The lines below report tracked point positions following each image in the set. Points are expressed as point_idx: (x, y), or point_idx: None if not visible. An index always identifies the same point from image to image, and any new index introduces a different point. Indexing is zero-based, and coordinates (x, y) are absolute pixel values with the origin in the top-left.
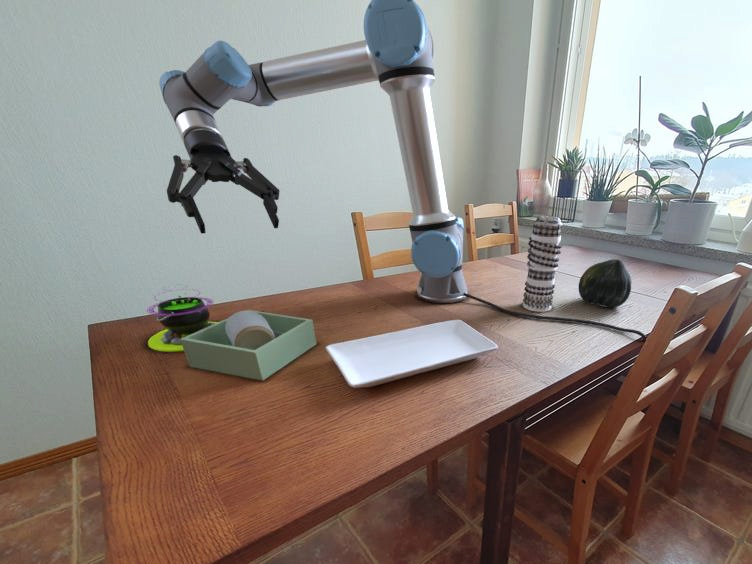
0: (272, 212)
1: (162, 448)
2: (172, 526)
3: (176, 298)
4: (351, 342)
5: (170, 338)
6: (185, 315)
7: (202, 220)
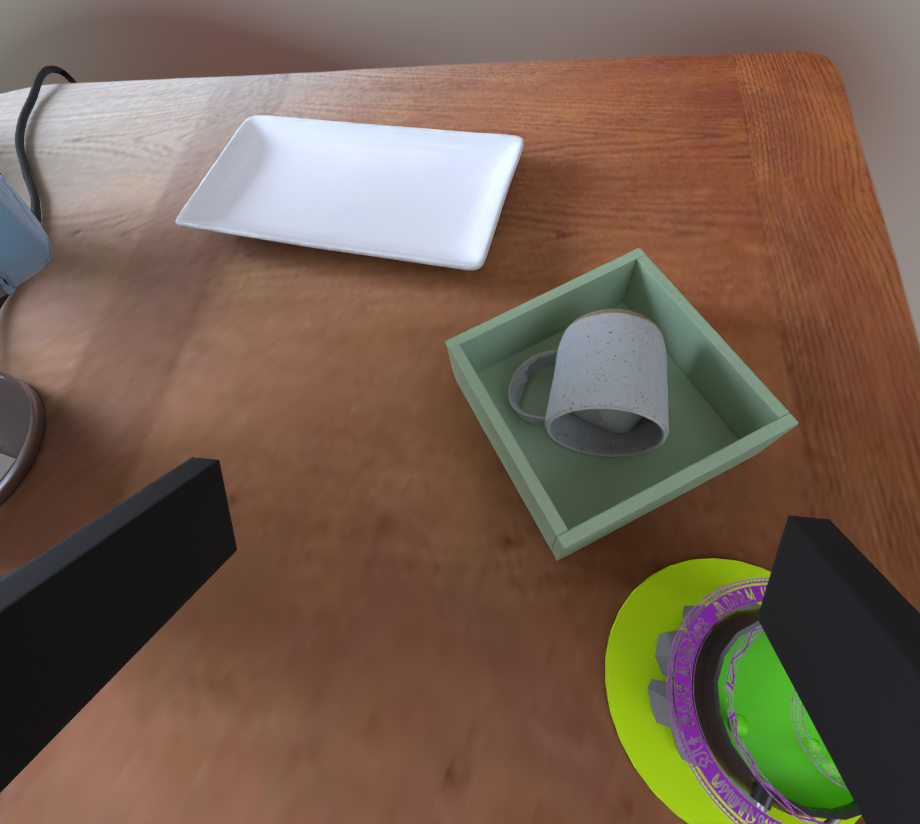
0: (149, 503)
1: (808, 208)
2: (793, 93)
3: (824, 817)
4: (424, 257)
5: None
6: None
7: (817, 541)
